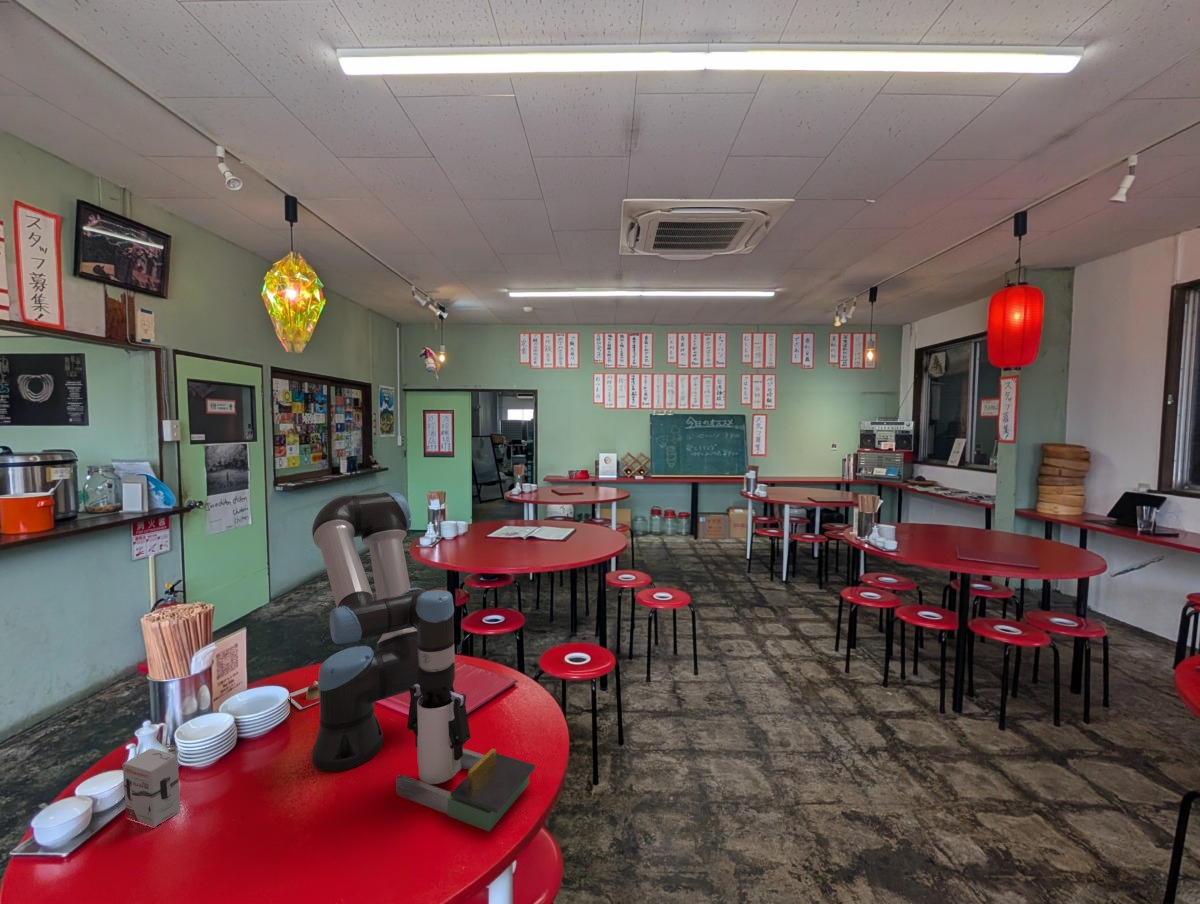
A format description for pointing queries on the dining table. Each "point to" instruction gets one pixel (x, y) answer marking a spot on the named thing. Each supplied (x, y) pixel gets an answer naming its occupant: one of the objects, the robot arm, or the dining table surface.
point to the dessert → (311, 694)
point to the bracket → (430, 793)
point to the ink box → (151, 787)
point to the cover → (493, 781)
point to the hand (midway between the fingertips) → (439, 767)
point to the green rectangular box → (480, 810)
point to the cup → (434, 742)
